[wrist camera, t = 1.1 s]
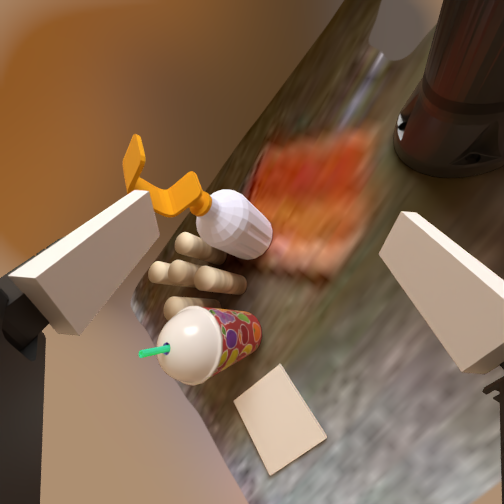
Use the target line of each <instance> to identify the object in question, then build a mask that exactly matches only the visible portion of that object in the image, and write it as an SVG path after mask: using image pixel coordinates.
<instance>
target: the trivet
mask: <svg viewBox="0 0 504 504" xmlns="http://www.w3.org/2000/svg"><path fill="white" fill-rule="evenodd" d="M234 403H235V405H236V407H237V409H238V411H239V414H240V416H241V418H242V420H243V422H244V424H245V426H246V428H247V430H248V432H249V434H250V436H251V438H252V440H253V442H254V444H255V446H256V448H257V450H258V452H259V454H260V456H261V458H262V460H263V463H264V465H265V467H266V469H267V471H268V473H269V475H270V476H271V475H272V474H274V473H275V472H277V471H278V470H280V469H281V468H283V467H284V466H286V465H287V464H289V463H290V462H292V461H293V460H295V459H296V458H298V457H299V456H301V455H302V454H304V453H305V452H307V451H308V450H310V449H311V448H313V447H314V446H316V445H317V444H319V443H320V442H322V441H323V440H325V439H326V438H327V435H326V433H325V432H324V430H323V429H322V427H321V426H320V424H319V423H318V421H317V419H316V418H315V416H314V415H313V413H312V412H311V410H310V409H309V407H308V405H307V404H306V402H305V401H304V399H303V398H302V396H301V395H300V393H299V392H298V390H297V388H296V387H295V385H294V384H293V382H292V381H291V379H290V378H289V376H288V375H287V373H286V371H285V370H284V368H283V367H282V365H281V364H279V365H278V366H277V367H276V368H274V369H273V370H272V371H270V372H269V373H268V374H267V375H265V376H264V377H263V378H262V379H260V380H259V381H258V382H257V383H255V384H254V385H253V386H252V387H250V388H249V389H248V390H247V391H245V392H244V393H243V394H242V395H240V396H239V397H238V398H236V399H235V400H234Z"/></svg>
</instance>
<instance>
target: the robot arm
mask: <svg viewBox="0 0 504 504" xmlns="http://www.w3.org/2000/svg"><path fill="white" fill-rule="evenodd" d="M393 140H394V147H395V150H396V153H397V155H398V156H399V158H400V159H401V160H402V161H403V162H404V163H405V164H406V165H408V166H409V167H410V168H412V169H414V170H416V171H418V172H421V173H423V174H427V175H431V176H436V177H445V178H458V177H468V176H474V175H478V174H482V173H486V172H489V171H492V170H495V169H497V168H500V167H502V166H504V0H443V4H442V8H441V11H440V15H439V19H438V23H437V26H436V30H435V34H434V38H433V41H432V45H431V49H430V53H429V56H428V60H427V64H426V68H425V72H424V75H423V78H422V79H421V81H420V82H419V84H418V85H417V87H416V88H415V90H414V91H413V93H412V94H411V96H410V97H409V99H408V100H407V102H406V104H405V105H404V107H403V108H402V110H401V112H400V114H399V116H398V119H397V122H396V126H395V131H394V138H393ZM159 236H160V234H159V230H158V226H157V222H156V218H155V213H154V209H153V205H152V201H151V197H150V193H149V191H143V190H134V191H132V192H131V193H129V194H128V195H126V196H125V197H123V198H122V199H120V200H119V201H117V202H116V203H114V204H113V205H112V206H110V207H109V208H107V209H106V210H104V211H103V212H102V213H100V214H98V215H97V216H95V217H94V218H92V219H91V220H89V221H88V222H86V223H85V224H83V225H82V226H80V227H79V228H78V229H76V230H75V231H73V232H72V233H70V234H69V235H67V236H65V237H63V238H61V239H58V240H57V241H55V242H54V243H52V244H51V245H49V246H48V247H47V248H46V249H43V250H42V251H40V252H39V253H37V255H36V256H33V257H31V258H30V259H28V260H27V261H25V262H24V263H22V264H21V265H19V266H18V267H16V268H15V269H13V270H12V271H10V272H9V273H7V274H6V275H4V276H3V277H1V278H0V504H40V484H41V457H42V455H41V454H42V430H43V429H42V428H43V402H44V374H45V346H46V345H45V344H46V338H45V335H44V333H42V330H43V329H44V328H45V327H46V326H47V325H48V324H50V325H51V326H52V327H53V328H54V329H55V331H56V332H57V333H58V334H68V335H78V336H80V334H81V333H82V332H83V331H84V329H85V328H86V327H87V326H88V324H89V323H90V322H91V321H92V319H93V318H94V317H95V316H96V314H97V313H98V312H99V310H100V309H101V308H102V307H103V306H104V304H105V303H106V302H107V301H108V299H109V298H110V297H111V296H112V294H113V293H114V292H115V291H116V289H117V288H118V287H119V286H120V284H121V283H122V282H123V281H124V280H125V278H126V277H127V276H128V275H129V273H130V272H131V271H132V269H133V268H134V267H135V266H136V265H137V263H138V262H139V261H140V259H141V258H142V257H143V256H144V255H145V253H146V252H147V251H148V250H149V248H150V247H151V246H152V244H153V243H154V242H155V241H156V239H157V238H158V237H159ZM379 255H380V257H381V258H382V260H383V261H384V262H385V264H386V265H387V267H388V268H389V270H390V271H391V272H392V274H393V275H394V277H395V278H396V279H397V281H398V282H399V284H400V285H401V287H402V288H403V289H404V291H405V292H406V294H407V295H408V296H409V298H410V299H411V301H412V302H413V304H414V305H415V306H416V308H417V309H418V311H419V312H420V314H421V315H422V316H423V318H424V319H425V321H426V322H427V323H428V325H429V326H430V328H431V329H432V331H433V332H434V333H435V335H436V336H437V338H438V339H439V341H440V342H441V343H442V345H443V346H444V348H445V349H446V350H447V352H448V353H449V355H450V356H451V358H452V359H453V360H454V362H455V363H456V365H457V366H458V368H459V369H460V370H461V372H465V373H476V374H486V373H488V372H490V371H491V370H493V369H494V368H496V367H497V366H499V365H500V366H501V367H502V368H503V369H504V280H503V279H501V278H500V277H499V276H498V275H496V274H495V273H494V272H492V271H491V270H490V269H488V268H487V267H486V266H485V265H483V264H482V263H481V262H479V261H478V260H477V259H476V258H474V257H473V256H472V255H470V254H469V253H468V252H467V251H465V250H464V249H463V248H461V247H460V246H459V245H457V244H456V243H455V242H454V241H452V240H451V239H450V238H448V237H447V236H446V235H445V234H443V233H442V232H441V231H439V230H438V229H437V228H435V227H434V226H433V225H432V224H430V223H429V222H428V221H426V220H425V219H424V218H423V217H421V216H420V215H419V214H417V213H416V212H404V211H401V212H400V214H399V216H398V218H397V220H396V222H395V224H394V226H393V227H392V229H391V231H390V233H389V235H388V237H387V239H386V241H385V243H384V245H383V247H382V248H381V250H380V252H379ZM494 390H496V391H499V392H500V394H499V395H497V396H495V397H493V399H495V400H496V401H498V402H500V431H501V475H502V504H504V376H503V377H502V378H500V379H498V380H496V381H495V382H493V383H491V384H489V385H488V386H486V387H484V389H483V391H482V392H483V393H485V394H488V393H490V392H492V391H494Z"/></svg>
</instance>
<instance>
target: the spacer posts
mask: <svg viewBox="0 0 504 504" xmlns="http://www.w3.org/2000/svg"><path fill="white" fill-rule="evenodd" d="M175 250H176V251H177V252H178V253H180V254H183V255H186V256H189V257H193V258H196V259H199V260H203V261H206V262H209V263H213V264H216V265H221V264H223V263H224V262H225V260H226V258H227V253H226V252H224V251H221V250H219V249H217V248H214V247H212V246H210V245H208V244H207V243H206V242H204V241H203V239H201V238H199V237H197V236H194V235H192V234H190V233H188V232H183V233H181V234H180V235H179V236H178V237H177V239H176V241H175ZM148 276H149V280H150V281H151V282H153V283H161V284H169V285H177V286H185V287H193V288H197V289H198V290H201V291H209V292H218V293H227V294H236V295H240V294H242V293H244V292H245V290H246V288H247V280H246V278H245V277H244V276H242V275H238V274H235V273H231V272H227V271H224V270H220V269H217V268H213V267H209V266H200V265H196V264H193V263H189V262H185V261H181V260H175V261H174V262H172V263H171V264H168V263H164V262H160V261H156V262H154V263H153V264H152V265H151V267H150V269H149V273H148ZM188 306H200V307H208V308H218V309H221V305H220V303H219V301H218V300H216V299H205V298H189V297H170V298H169V299H168V300H167V301H166V303H165V306H164V315H165V318H166V319H167V320H168V321H169V320H170V319H171V318H172V317H173V316H175V315H176V314H177V313H178V312H179V311H180V310H182V309H184V308H186V307H188Z"/></svg>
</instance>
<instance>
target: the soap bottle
mask: <svg viewBox="0 0 504 504" xmlns="http://www.w3.org/2000/svg"><path fill="white" fill-rule="evenodd" d="M144 164H145V153H144V150H143V145H142V141H141V137H140V136H139V135H136V134H134V135H133V137H132V140H131V142H130V144H129V147H128V149H127V152H126V154H125V157H124V159H123V171H124V177H125V183H126V189H127V195H128V194H129V193H131V192H132V191H134V190H143V191H149V193H150V197H151V201H152V205H153V209H154V212H156V213H158V214H160V215H163V216H165V217H175V216H177V215H179V214H180V213H182V212H183V211H184V210H185V209H187V208H188V207H189V208H190V211H191V213H192V214H194V215H196V216H197V220H196V225H197V231H198V233H199V235H200V236H201V238H202V239H203V241H204V242H206V243H207V244H208V245H210V246H212V247H214V248H217V249H219V250H221V251H224V252H226V253H229V254H231V255H233V256H236V257H238V258H241V259H246V260H250V259H255V258H257V257H259V256H260V255H262V254H263V253H264V252H265V251H266V250H267V249H268V247H269V245H270V243H271V240H272V227H271V224H270V222H269V221H268V220H267V218H266V217H265V216H264V215H263V214H262V213H261V212H260V211H258V210H257V209H256V208H255V207H254V206H253V205H252V204H251V203H250V202H249V201H248V200H247V199H246V198H245V197H244V196H243V195H242V194H240V193H238V192H236V191H233V190H220V191H217V192H214V193H213V194H212V195H209V194H208V193H206V192H204V191H202V188H201V185H200V183H199V180H198V177H197V175H196V174H195V173H194V172H192V171H191V172H189V173H187V174H186V175H185V176H184V177H183V178H181V179H180V180H179V181H178V182H176V183H175V184H174V185H173V186H172V187H171V188H169V189H167V190H162V189H159V188H157V187H155V186H154V185H152V184H150V183H148V182H147V181H145V180H143V179H142V178H140V177H139V176H140V174H141V172H142V169H143V167H144Z"/></svg>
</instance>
